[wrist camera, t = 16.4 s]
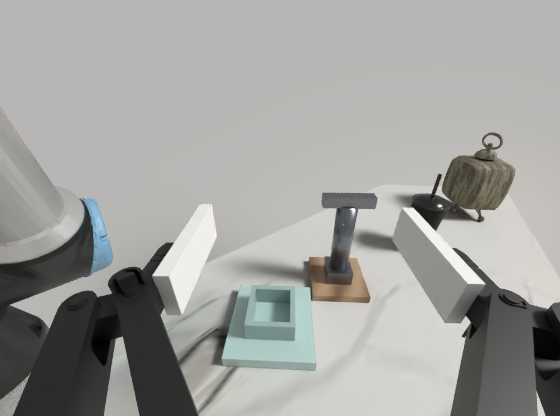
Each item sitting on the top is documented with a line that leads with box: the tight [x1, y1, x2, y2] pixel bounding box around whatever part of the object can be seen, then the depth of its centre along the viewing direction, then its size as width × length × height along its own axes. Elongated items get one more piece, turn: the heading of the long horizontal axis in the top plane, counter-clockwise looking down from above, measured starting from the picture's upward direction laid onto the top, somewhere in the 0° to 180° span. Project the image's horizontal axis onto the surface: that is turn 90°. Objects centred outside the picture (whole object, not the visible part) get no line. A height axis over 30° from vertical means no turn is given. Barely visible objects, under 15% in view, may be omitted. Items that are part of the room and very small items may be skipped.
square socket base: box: [221, 285, 316, 370], centre depth 40 cm, size 14×14×6 cm
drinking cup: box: [411, 174, 451, 231], centre depth 54 cm, size 8×8×20 cm
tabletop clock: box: [442, 133, 515, 221], centre depth 69 cm, size 14×9×25 cm, turn 176°
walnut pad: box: [309, 257, 370, 303], centre depth 50 cm, size 11×11×2 cm
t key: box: [322, 193, 378, 285], centre depth 44 cm, size 9×5×19 cm, turn 87°
